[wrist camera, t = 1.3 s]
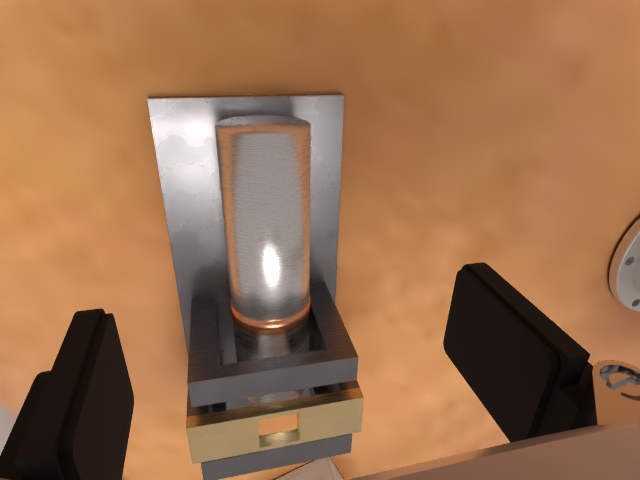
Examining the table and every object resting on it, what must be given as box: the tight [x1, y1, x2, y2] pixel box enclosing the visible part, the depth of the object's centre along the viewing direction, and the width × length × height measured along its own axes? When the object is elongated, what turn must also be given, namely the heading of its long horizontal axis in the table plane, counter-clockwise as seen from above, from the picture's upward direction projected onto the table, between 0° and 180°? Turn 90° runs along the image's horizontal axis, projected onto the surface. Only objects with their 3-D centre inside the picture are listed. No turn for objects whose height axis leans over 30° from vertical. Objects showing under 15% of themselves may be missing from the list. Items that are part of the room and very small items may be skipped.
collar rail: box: [147, 94, 364, 480], centre depth 27 cm, size 11×25×9 cm, turn 179°
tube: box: [215, 115, 311, 404], centre depth 27 cm, size 18×5×5 cm, turn 179°
